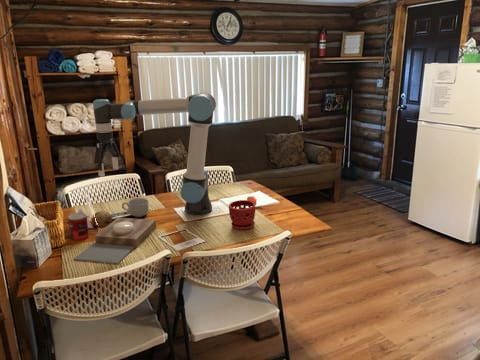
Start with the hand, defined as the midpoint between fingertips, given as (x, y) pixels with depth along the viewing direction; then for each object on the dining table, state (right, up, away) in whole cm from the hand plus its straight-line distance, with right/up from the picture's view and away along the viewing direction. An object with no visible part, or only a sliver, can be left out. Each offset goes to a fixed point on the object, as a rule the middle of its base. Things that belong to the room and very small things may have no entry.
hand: (109, 172), depth 200 cm
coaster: (+13, -27, -17) cm, 35 cm away
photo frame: (+40, -32, -18) cm, 54 cm away
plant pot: (+68, -27, -4) cm, 73 cm away
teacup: (+11, -23, +11) cm, 28 cm away
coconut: (-4, -26, +1) cm, 26 cm away
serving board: (+13, -30, -14) cm, 36 cm away
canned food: (-8, -31, -15) cm, 36 cm away
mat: (+9, -36, -31) cm, 48 cm away
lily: (-11, -28, -7) cm, 31 cm away
